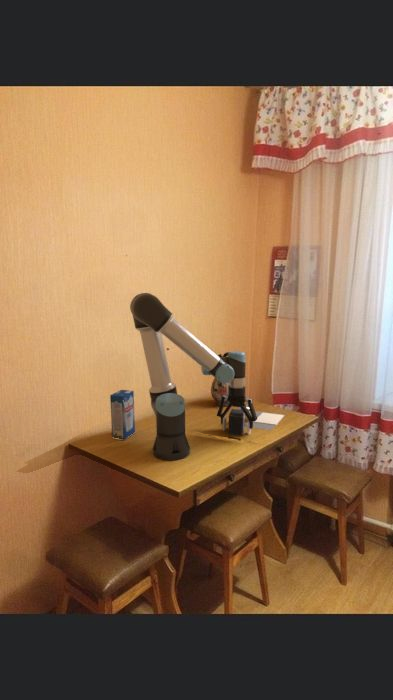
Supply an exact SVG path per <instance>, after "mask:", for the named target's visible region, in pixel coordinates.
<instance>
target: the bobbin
mask: <svg viewBox="0 0 393 700" xmlns="http://www.w3.org/2000/svg"><path fill="white" fill-rule="evenodd" d="M245 405H246V407H247V409H248V411H249V412H250V409H249V407H248V404H245ZM237 409H238V410H242V409H241V408H240V407H237ZM248 421H249V420H248V418H247V417H246V415H245V421H244V425H247V422H248Z"/></svg>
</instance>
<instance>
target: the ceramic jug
mask: <svg viewBox="0 0 393 700" xmlns="http://www.w3.org/2000/svg"><path fill="white" fill-rule="evenodd" d="M229 352H230V351H227V352H224V354H221V353H219V354H217V355H218V356H219V357H227V356H228V353H229ZM228 387H229V385H228V383H221V382H219V381H218V380H217V379H216V378H215V377H213V381H212V382H211V388H210V394H211V398H212V399H213V400H214V401H215V403H216V405H218V406H220V404H221V402H222V397H223V396H224V395H225V396H228ZM229 403H230V402H229V401H228V399H227V400H226V402H225V405H224V407H227V406H228V405H229Z"/></svg>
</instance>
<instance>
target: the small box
mask: <svg viewBox="0 0 393 700" xmlns="http://www.w3.org/2000/svg"><path fill="white" fill-rule="evenodd" d="M230 409H231V408H230ZM244 421H245V413H244V412H243V410H239V409H238V408H237V409H236V408H232V409H231V410H230V412H229V414H228V432H227V433H228V434H227V435H228V437H227V438H228V439H235V440H236V439H238V440H240V437H242V436H243V434H244V432H245V431H244V430H245V426H244ZM235 436H236V437H235ZM237 436H238V437H239V438H238V437H237Z"/></svg>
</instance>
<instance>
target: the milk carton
mask: <svg viewBox="0 0 393 700" xmlns="http://www.w3.org/2000/svg"><path fill="white" fill-rule="evenodd" d="M109 398H110V399H109V400H110V402H109V403H110V418H111V422H110V423H111V438H112V437H114V438H119V439H126V438H127V437H128V436H130V435H131V434H133V433H134V432H135V433H136V420H135V395H134V390H129V389H119V390H118V391H116V392H114V393H112V394H110V395H109ZM135 433H134V434H135ZM134 434H133V435H134ZM131 436H132V435H131ZM131 436H130V437H131ZM127 439H128V438H127ZM127 439H126V440H127Z"/></svg>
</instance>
